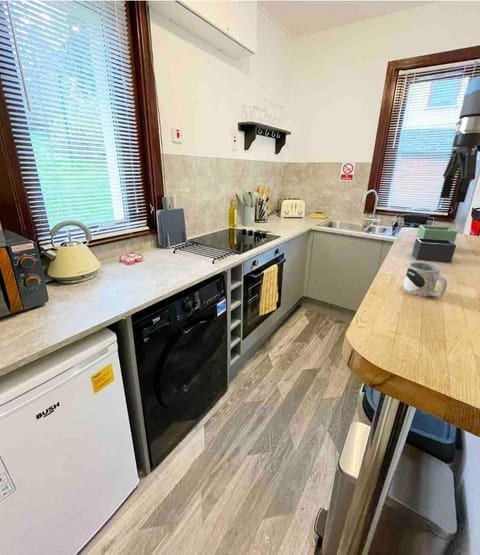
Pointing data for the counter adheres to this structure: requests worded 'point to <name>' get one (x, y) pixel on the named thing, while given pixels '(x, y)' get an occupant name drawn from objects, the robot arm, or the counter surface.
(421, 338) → the counter surface
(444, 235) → the green basket
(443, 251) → the charcoal basket
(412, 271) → the mug
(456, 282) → the counter surface
